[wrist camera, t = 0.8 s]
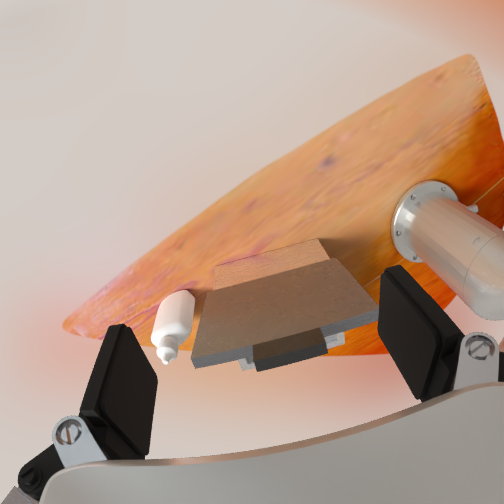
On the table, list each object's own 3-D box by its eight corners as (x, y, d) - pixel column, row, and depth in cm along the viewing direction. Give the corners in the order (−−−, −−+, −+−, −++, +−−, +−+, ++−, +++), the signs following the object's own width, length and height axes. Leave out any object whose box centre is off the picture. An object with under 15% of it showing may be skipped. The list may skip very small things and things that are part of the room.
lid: (337, 265, 34) (335, 257, 34) (391, 332, 20) (391, 320, 20) (210, 299, 35) (207, 291, 35) (192, 385, 21) (186, 374, 20)
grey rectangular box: (334, 233, 41) (355, 262, 34) (344, 304, 46) (361, 338, 39) (197, 271, 42) (192, 306, 35) (224, 336, 47) (225, 374, 40)
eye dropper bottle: (199, 312, 45) (193, 374, 34) (162, 315, 45) (147, 375, 34) (193, 287, 43) (184, 347, 32) (154, 291, 43) (136, 349, 32)
